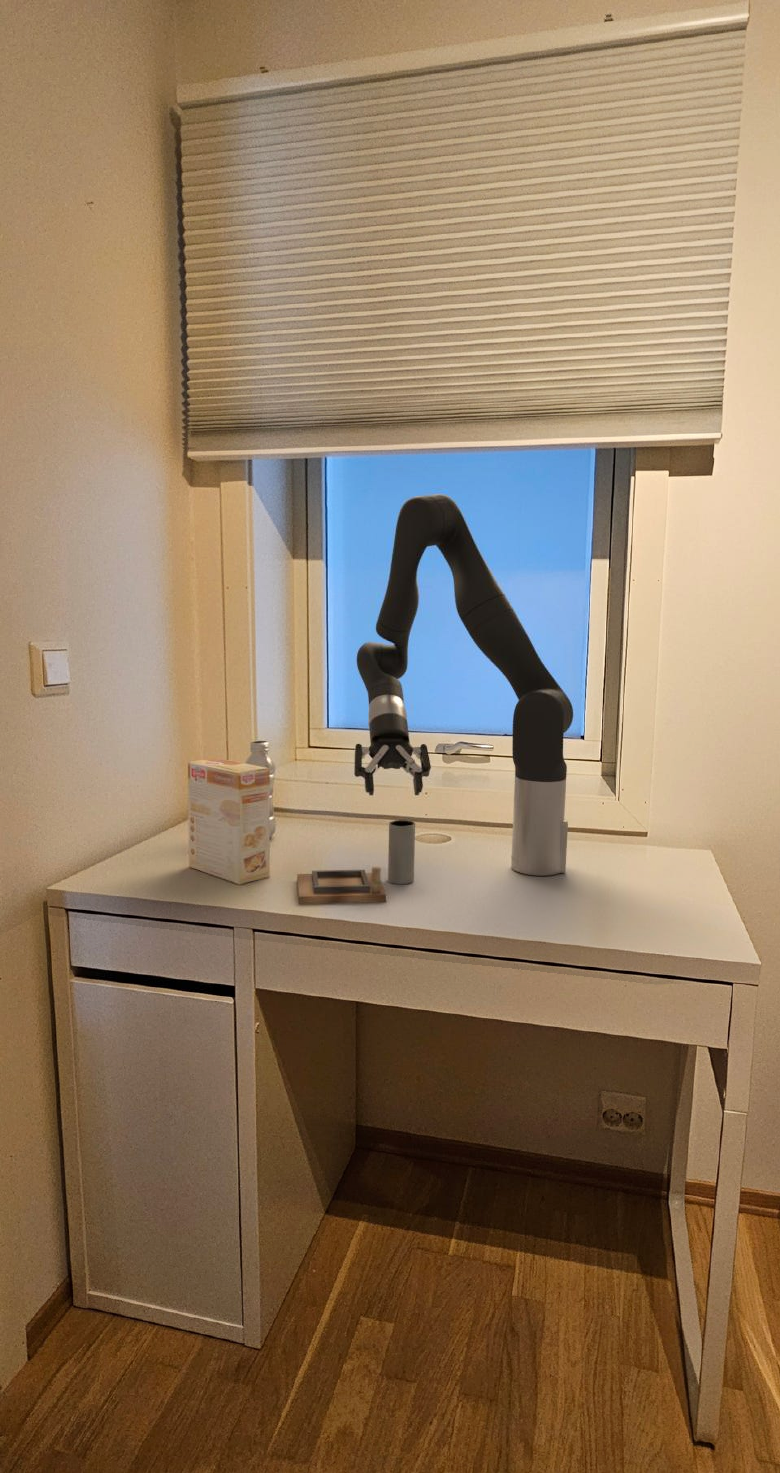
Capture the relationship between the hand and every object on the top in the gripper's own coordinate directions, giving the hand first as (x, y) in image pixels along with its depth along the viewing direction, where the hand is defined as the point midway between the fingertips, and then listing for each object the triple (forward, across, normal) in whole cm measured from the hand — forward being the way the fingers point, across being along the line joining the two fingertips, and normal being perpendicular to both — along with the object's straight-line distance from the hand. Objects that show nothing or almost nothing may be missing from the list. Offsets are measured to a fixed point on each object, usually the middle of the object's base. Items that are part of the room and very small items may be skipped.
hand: (394, 793), depth 156 cm
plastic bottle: (-4, -25, +24) cm, 35 cm away
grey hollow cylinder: (+17, 0, +2) cm, 17 cm away
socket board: (+20, -11, -1) cm, 23 cm away
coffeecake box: (+12, -30, +8) cm, 33 cm away
